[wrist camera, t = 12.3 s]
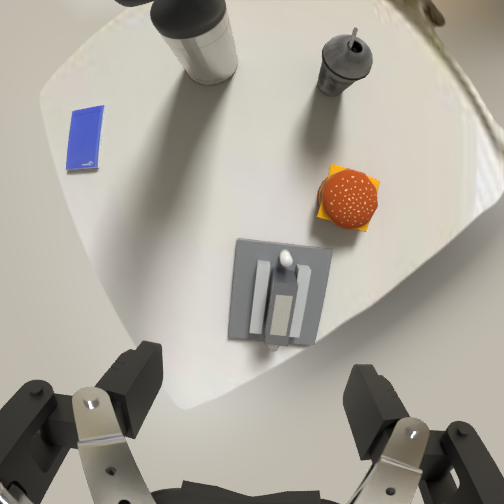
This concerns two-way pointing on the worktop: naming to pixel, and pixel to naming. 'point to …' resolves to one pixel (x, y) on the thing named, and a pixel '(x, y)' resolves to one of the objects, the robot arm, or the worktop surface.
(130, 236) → the worktop surface
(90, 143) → the hard drive
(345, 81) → the beverage cup
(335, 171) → the hamburger
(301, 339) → the dock
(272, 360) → the worktop surface
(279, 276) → the block
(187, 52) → the robot arm
